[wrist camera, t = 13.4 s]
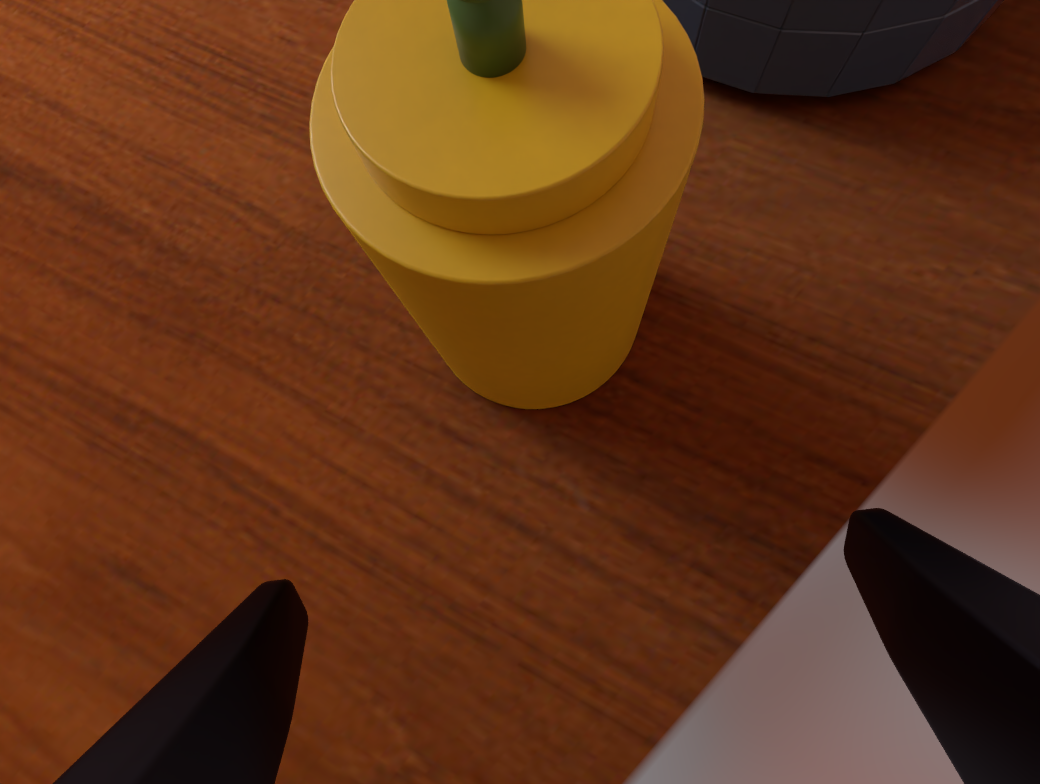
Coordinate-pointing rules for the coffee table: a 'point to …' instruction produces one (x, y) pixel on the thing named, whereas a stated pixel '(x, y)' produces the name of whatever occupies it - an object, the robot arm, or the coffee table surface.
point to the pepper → (512, 175)
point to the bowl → (824, 41)
